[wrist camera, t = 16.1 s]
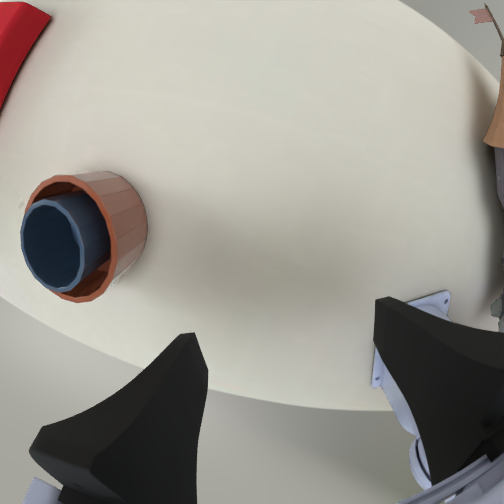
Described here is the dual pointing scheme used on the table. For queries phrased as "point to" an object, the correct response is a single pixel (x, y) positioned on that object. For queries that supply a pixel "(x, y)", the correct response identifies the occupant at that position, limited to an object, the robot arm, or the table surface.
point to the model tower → (496, 147)
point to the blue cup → (64, 240)
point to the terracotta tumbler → (117, 219)
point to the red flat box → (17, 38)
